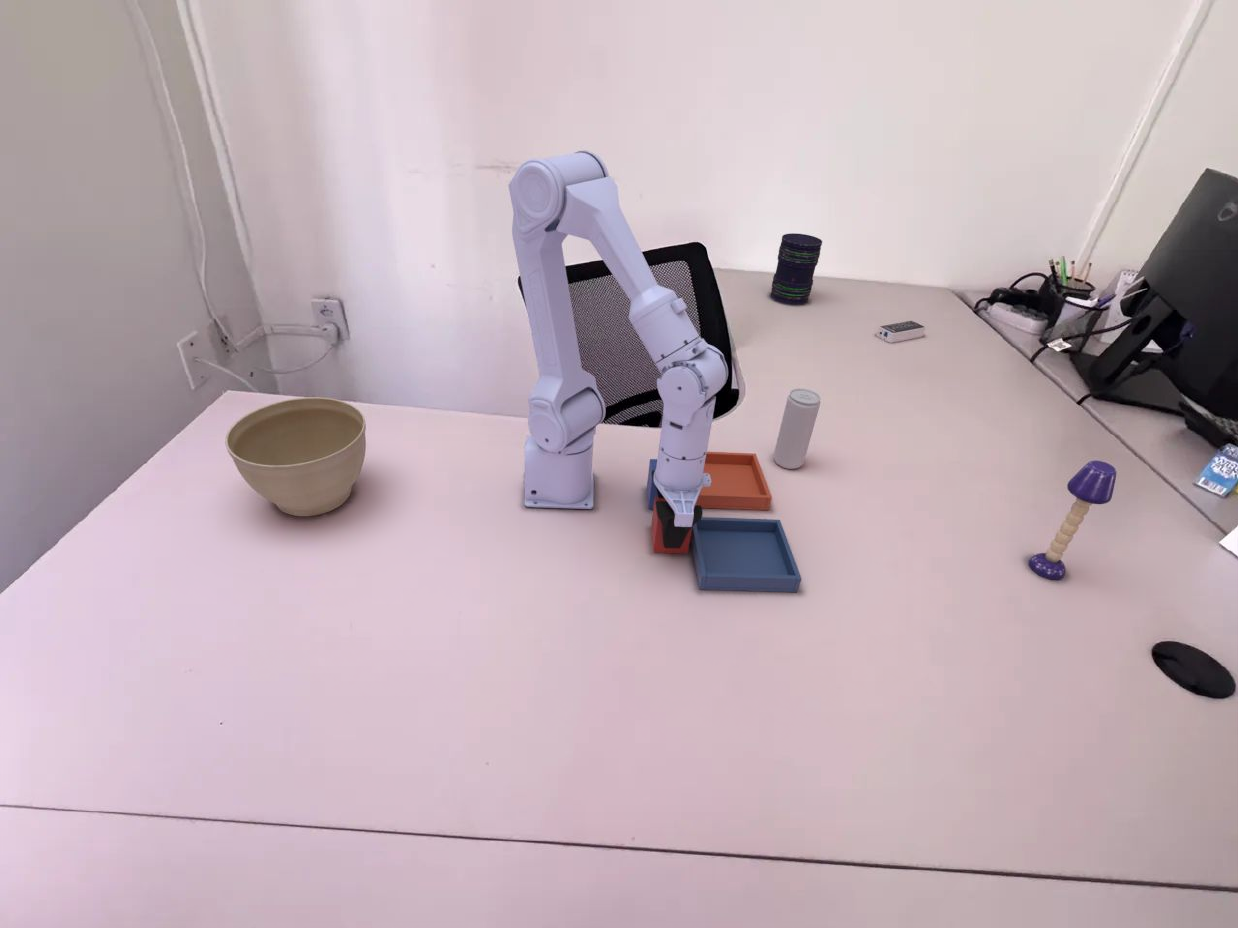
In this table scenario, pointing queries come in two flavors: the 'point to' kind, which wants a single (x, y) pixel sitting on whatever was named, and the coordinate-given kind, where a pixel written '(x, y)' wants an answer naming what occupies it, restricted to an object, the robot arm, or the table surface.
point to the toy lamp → (1076, 514)
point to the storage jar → (795, 268)
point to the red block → (658, 538)
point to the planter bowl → (300, 452)
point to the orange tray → (734, 482)
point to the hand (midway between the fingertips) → (670, 533)
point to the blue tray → (743, 555)
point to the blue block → (651, 485)
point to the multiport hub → (900, 331)
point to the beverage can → (796, 428)
